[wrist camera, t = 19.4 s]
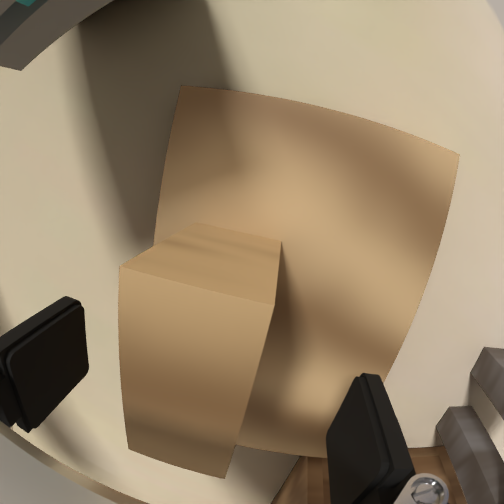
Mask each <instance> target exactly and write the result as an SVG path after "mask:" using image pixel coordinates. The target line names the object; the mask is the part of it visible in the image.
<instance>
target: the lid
mask: <svg viewBox="0 0 504 504" xmlns="http://www.w3.org/2000/svg"><path fill="white" fill-rule="evenodd" d="M459 156H460V154H457V153H455V152H453V151H451V150H448V149H446V148H444V147H441V146H439V145H437V144H434V143H432V142H429V141H427V140H424V139H422V138H419V137H416V136H414V135H411V134H408V133H406V132H403V131H400V130H397V129H394V128H392V127H389V126H386V125H383V124H380V123H376V122H373V121H370V120H367V119H364V118H360V117H357V116H353V115H350V114H346V113H343V112H339V111H335V110H331V109H327V108H323V107H319V106H315V105H311V104H306V103H302V102H297V101H292V100H287V99H282V98H277V97H271V96H265V95H259V94H253V93H246V92H239V91H232V90H224V89H215V88H205V87H193V86H181V88H180V92H179V96H178V100H177V105H176V109H175V114H174V118H173V123H172V128H171V133H170V138H169V143H168V148H167V154H166V159H165V165H164V171H163V177H162V183H161V189H160V196H159V203H158V210H157V218H156V226H155V234H154V243H153V247H151V248H149V249H148V250H146V251H144V252H142V253H141V254H139V255H137V256H136V257H134V258H132V259H131V260H129V261H127V262H126V263H124V264H122V265H121V266H120V268H119V298H118V329H119V360H120V377H121V390H122V401H123V411H124V419H125V427H126V435H127V442H128V448H129V449H130V450H132V451H135V452H137V453H140V454H143V455H145V456H148V457H151V458H154V459H156V460H159V461H162V462H165V463H168V464H171V465H174V466H178V467H181V468H184V469H188V470H191V471H195V472H198V473H202V474H206V475H210V476H214V477H218V478H223V479H225V477H226V474H227V470H228V467H229V464H230V461H231V458H232V454H233V451H234V448H235V445H240V446H245V447H250V448H255V449H260V450H266V451H272V452H278V453H285V454H292V455H300V456H309V457H320V458H327V449H326V434H327V431H328V429H329V427H330V425H331V423H332V422H333V420H334V418H335V416H336V414H337V412H338V410H339V408H340V406H341V404H342V402H343V400H344V398H345V396H346V394H347V392H348V390H349V388H350V386H351V384H352V382H353V380H354V378H355V377H356V376H358V377H359V376H360V375H361V374H362V373H369V374H378V375H380V377H381V379H382V382H384V381H385V379H386V377H387V375H388V373H389V371H390V369H391V367H392V365H393V363H394V361H395V359H396V357H397V355H398V352H399V350H400V348H401V346H402V344H403V342H404V339H405V337H406V335H407V333H408V330H409V328H410V326H411V323H412V321H413V319H414V316H415V314H416V311H417V309H418V306H419V304H420V301H421V298H422V296H423V293H424V290H425V288H426V285H427V282H428V279H429V276H430V273H431V270H432V267H433V264H434V261H435V258H436V255H437V251H438V248H439V245H440V241H441V238H442V234H443V231H444V227H445V223H446V219H447V215H448V211H449V207H450V203H451V198H452V194H453V189H454V184H455V179H456V174H457V168H458V162H459Z"/></svg>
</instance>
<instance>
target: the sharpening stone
mask: <svg viewBox="0 0 504 504" xmlns="http://www.w3.org/2000/svg"><path fill="white" fill-rule="evenodd" d="M112 1H113V0H0V66H2V67H7V68H11V69H15V70H20V71H21V70H22V69H24V68H25V67H26V66H27V65H28V64H29V63H30V62H31V61H32V60H33V59H34V58H35V57H37V56H38V55H39V54H40V53H41V52H42V51H44V50H45V49H46V48H47V47H48V46H49V45H51V44H52V43H53V42H54V41H56V40H57V39H58V38H59V37H61V36H62V35H63V34H65V33H66V32H67V31H69V30H70V29H71V28H73V27H74V26H75V25H77V24H78V23H80V22H81V21H82V20H84V19H85V18H87V17H88V16H90V15H91V14H93V13H94V12H96V11H97V10H99V9H100V8H102V7H104V6H105V5H107V4H108V3H110V2H112Z"/></svg>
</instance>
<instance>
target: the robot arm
mask: <svg viewBox="0 0 504 504" xmlns="http://www.w3.org/2000/svg"><path fill="white" fill-rule="evenodd" d="M88 370H89V363H88V354H87V343H86V331H85V316H84V308H83V307H82V305H81V303H80V301H78V300H76V299H73V298H71V297H68V296H65V297H63V298H61V299H59V300H58V301H56V302H54V303H53V304H51V305H50V306H48V307H46V308H45V309H43V310H41V311H40V312H38V313H37V314H35V315H33V316H32V317H30V318H29V319H27V320H25V321H24V322H22V323H21V324H19V325H18V326H16V327H15V328H13V329H11V330H10V331H8V332H7V333H5V334H4V335H2V336H1V337H0V504H148V503H146V502H143V501H140V500H138V499H135V498H133V497H130V496H128V495H125V494H123V493H121V492H118V491H116V490H114V489H111V488H109V487H107V486H105V485H103V484H101V483H99V482H96V481H94V480H92V479H90V478H88V477H87V476H85V475H83V474H81V473H79V472H77V471H75V470H73V469H72V468H70V467H68V466H66V465H65V464H63V463H61V462H59V461H58V460H56V459H54V458H53V457H51V456H49V455H48V454H46V453H45V452H43V451H42V450H40V449H39V448H37V447H36V446H34V445H33V444H31V443H30V442H28V441H27V440H25V439H24V438H23V437H21V436H20V435H18V434H17V433H16V432H14V431H13V425H14V424H15V423H17V426H19V427H20V428H21V429H23V430H24V431H26V432H27V433H29V432H30V431H31V430H32V429H33V428H37V427H38V426H39V425H40V424H41V423H42V422H43V421H44V420H45V419H46V417H47V416H48V415H49V414H50V413H51V412H52V411H53V410H54V409H55V408H56V407H57V406H58V404H59V403H60V402H61V401H62V400H63V399H64V398H65V397H66V396H67V395H68V394H69V393H70V392H71V390H72V389H73V388H74V387H75V386H76V385H77V384H78V383H79V382H80V381H81V380H82V379H83V378H84V377H85V376H86V374H87V373H88ZM326 449H327V460H328V473H329V487H330V503H331V504H449V503H448V498H449V491H448V488H447V486H446V484H445V483H444V482H443V481H442V479H440V478H439V477H437V476H435V475H432V474H428V473H421V474H417V475H416V472H415V469H414V466H413V463H412V460H411V457H410V454H409V451H408V448H407V445H406V442H405V439H404V436H403V434H402V431H401V428H400V425H399V422H398V420H397V418H396V416H395V413H394V410H393V408H392V405H391V402H390V400H389V397H388V395H387V392H386V390H385V387H384V385H383V382H382V379H381V377H380V375H378V374H369V373H362V374H361V375H360V376H359V377H358V376H356V377H355V378H354V380H353V382H352V384H351V386H350V388H349V390H348V392H347V394H346V396H345V398H344V400H343V402H342V404H341V406H340V408H339V410H338V412H337V414H336V416H335V418H334V420H333V422H332V423H331V425H330V427H329V429H328V431H327V434H326Z"/></svg>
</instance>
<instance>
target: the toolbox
mask: <svg viewBox="0 0 504 504" xmlns="http://www.w3.org/2000/svg"><path fill="white" fill-rule="evenodd" d="M471 374H472V375H473V377H474V378H475V380H476V381H477V382H478V384H479V385H480V386H481V388H482V389H483V391H484V392H485V393H486V395H487V396H488V398H489V399H490V401H491V402H492V403H493V405H494V406H495V408H496V409H497V411H498V412H499V414H500V415H501V417H502V418H503V420H504V349H499V348H489V347H484V349H483V351H482V352H481V354H480V356H479V358H478V360H477V362H476V364H475V366H474V367H473V369H472V371H471ZM436 428H437V430H438V432H439V435H440V437H441V439H442V441H443V444H444V446H439V447H426V448H408V451H409V454H410V457H411V460H412V463H413V466H414V469H415V472H416V475H417V474H421V473H428V474H432V475H435V476H437V477H439V478H440V479H442V481H443V482H444V483H445V484H446V486H447V488H448V491H449V498H448V503H449V504H504V462H503V460H502V458H501V456H500V454H499V452H498V451H497V449H496V447H495V445H494V443H493V441H492V440H491V438H490V436H489V434H488V433H487V431H486V429H485V427H484V426H483V424H482V422H481V421H480V419H479V417H478V416H477V414H476V412H475V411H474V409H473V408H472V406H463V407H449V408H448V410H447V411H446V413H445V414H444V416H443V417H442V419H441V420H440V421H439V423H438V424H437V426H436ZM448 455H449V456H448ZM453 467H454V468H453ZM455 472H456V473H455ZM457 477H458V478H457ZM463 493H464V494H463ZM466 501H467V502H466ZM271 504H331V503H330V487H329V473H328V460H327V458H320V457H309V456H300V458H299V459H298V461H297V463H296V464H295V466H294V468H293V470H292V471H291V473H290V474H289V476H288V478H287V479H286V481H285V483H284V484H283V486H282V487H281V489H280V490H279V492H278V494H277V495H276V497H275V498H274V500H273V501H272V503H271Z"/></svg>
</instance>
